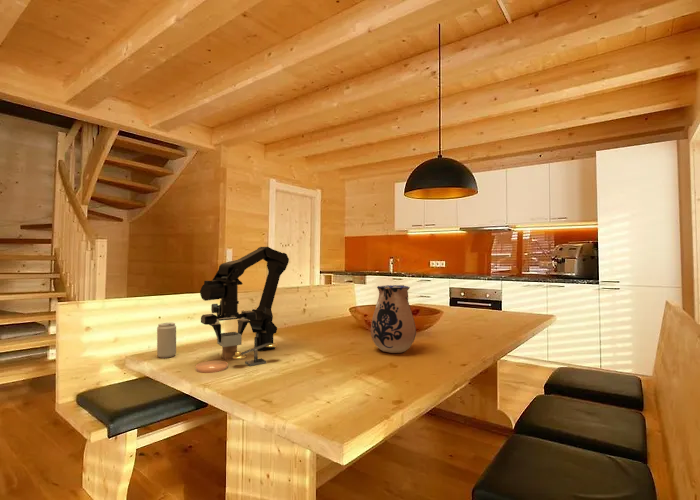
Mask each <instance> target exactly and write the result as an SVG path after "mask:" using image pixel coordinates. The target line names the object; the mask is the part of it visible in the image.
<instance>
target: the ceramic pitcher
mask: <svg viewBox="0 0 700 500" xmlns="http://www.w3.org/2000/svg"><path fill="white" fill-rule="evenodd" d="M376 288H377V291H378V298H377V302H376V304H375V308H374V311H373V314H372V319H371V323H370V335H371V339H372V342H373V343H374V345H375V346H376V347H377V348H378V349H379V350H380V351H381V352H384V353H390V354H391V353H392V354H400V353H405V352H406V351H407V350H409V349H410V348H411V346H412V345H413V343H414V341H415V340H416V335H417V328H416V327H417V326H416V323H415V318H414V316H413V315H414V314H413V312H412V310H411V305H410V302H409V290H410V289H411V287H410V286H407V285H404V284H402V285H397V284H396V285H394V284H393V285H391V284H390V285H388V284H387V285H378V286H377V287H376Z"/></svg>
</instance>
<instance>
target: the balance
mask: <svg viewBox="0 0 700 500" xmlns="http://www.w3.org/2000/svg"><path fill="white" fill-rule="evenodd" d="M265 346H266V347H275V348H276V347H278V346H279V345H278V343H274V342H273V343H266V344H263V345H261V346H258V347H255V348H254V347H252V348H250V349H248V350H244V351H242V352H241V351H238V350H237V352H235V355H234V356H233V358H234V359H233V360H242V359H245V358H247V355H246V354H249V353H250V352H251V353H252V352H253V359H250V360H245V361H244V362H245V363H244V364H245V365H247V366H249V367H253V366H258V365H264V364H267V360H266V359H264V358H258V354H259V353H258V351H259V350H258V349H259V348H262V347H265Z"/></svg>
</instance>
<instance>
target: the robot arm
mask: <svg viewBox="0 0 700 500" xmlns="http://www.w3.org/2000/svg"><path fill="white" fill-rule="evenodd" d="M262 260H263V261H264V262H266V267H267V268H266V269H267V272H268V273H267V277H266V280H265V283H264V287H263V290H262V294H261V297H260V300H259V303H258V306H257V308H256V309H253V308H252V309H251V310H250V309H249V310H241V313H239V310H238V306H239V305H238V304H240V303H239V302H240V301H239V300H238V297H239V294H238V293H239V291H238V290H239V288H238V286H241V285H244V284H243V282H242V281H241V280H240V279H239V278H240V277H241V276H242V275H244V274H245V271H246V270H247V269H248V268H250V267H253V266H254V265H255V264H257V263H259V262H261V261H262ZM289 263H290V259H289V257H288V255H287V253H285V252H282V251H278V250H276V249H273V248H271V247H270V246H260V247H258V248H257V249H255V250H253V251H251V252H249V253H247V254H246V255H244V256H241V258H238V259H234V260H231V261H225V262H223V263H221V264H219V267H218V270H217V271H216V273H215V274H214V277H213V278H212V280H204V282H203V285H202V286H201V288H200V290H199V294H200V297H201V299H202V300H203V301H215V300H219V304H218V303H212V304H211V305H210V307H211V308H210V309H211V313H207V314H206V313H205V314H202V315H201V316H200V323H201V324H202V325H209V326H211V327H212V328H213V331H214V334H215V335H216V340H217V339H218V341H219V343H221V333H222V324H221V323H220V322H221V321H231V320H236V321H237V333H239V334H241V335H242V336H243V333H244V332H245V329H246V327H247V325H248V324H249V325H250V327H251V330H252V333H253V334H254V333H255V336H254V340H253V341H254V344H253V345H254V346H253V348H255V347H258V346H261V345H263V344H266V343H274V335H275V334H277V331H278V327H277V326H276V325H275V323H274V322H273V319H274V315H273V313H272V306H273V303H274V300H275V295H276V292H277V289H278V285H279V282H280V278H281V275H282V274H283V273H284V272H285V271H286V270H287V267H288V265H289ZM274 349H276V347H266V346H265V347H262V348H259V349H258V351H260V352H261V351H269V350H274Z"/></svg>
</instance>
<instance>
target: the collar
mask: <svg viewBox="0 0 700 500" xmlns="http://www.w3.org/2000/svg"><path fill="white" fill-rule="evenodd" d="M242 336H243V334H242V335H241V334H239V333H238V331H229V332H221V343H219V341H218V339H217V338H216V340H217V342H216V344H217V345H219V346H221V347H228V346H235V345H237V346H241V345H242V343H243V342H242V339H243V337H242Z"/></svg>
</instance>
